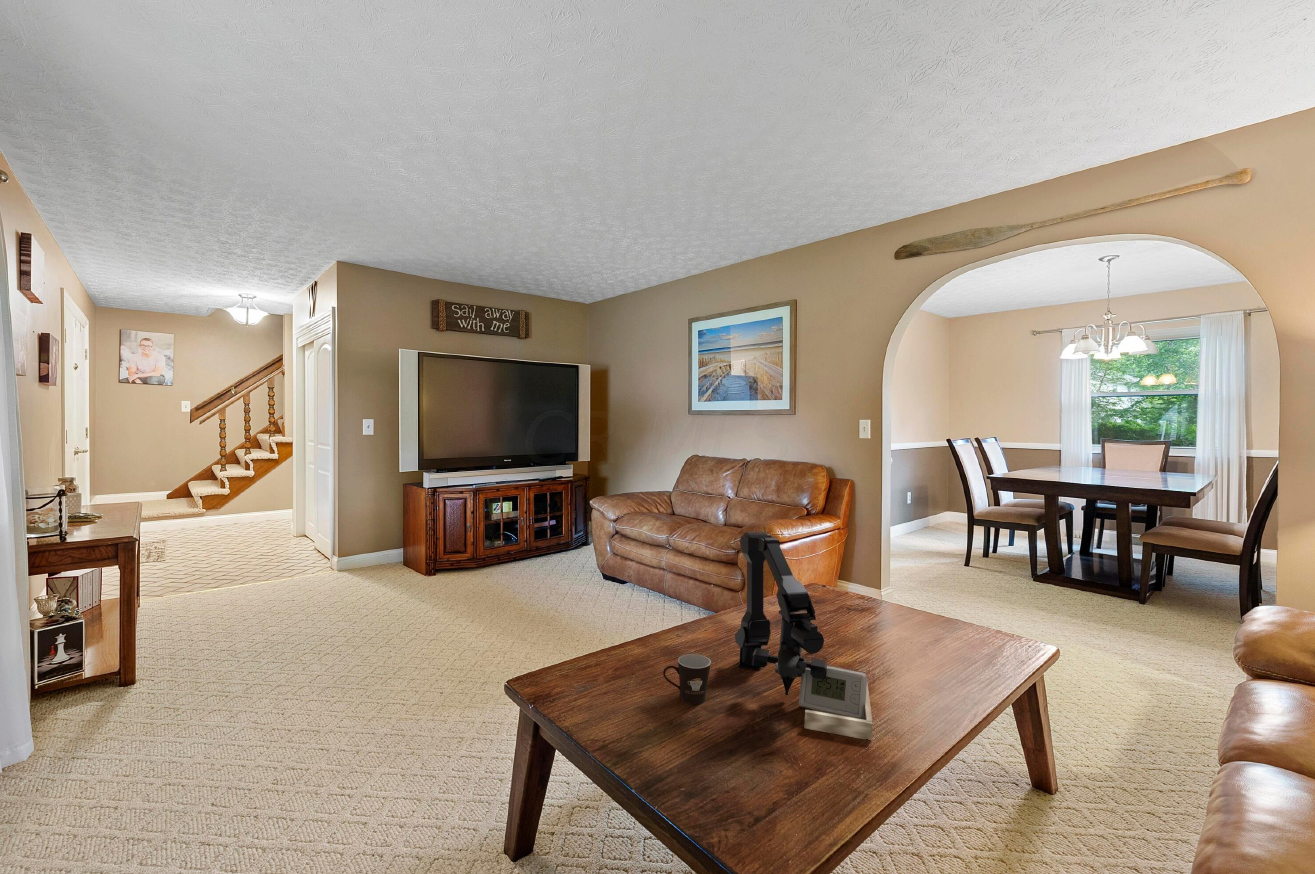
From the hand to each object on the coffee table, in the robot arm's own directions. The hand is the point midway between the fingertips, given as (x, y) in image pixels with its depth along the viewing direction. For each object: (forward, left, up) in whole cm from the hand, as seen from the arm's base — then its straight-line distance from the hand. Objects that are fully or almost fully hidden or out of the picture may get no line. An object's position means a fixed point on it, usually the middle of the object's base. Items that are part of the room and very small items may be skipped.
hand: (786, 694), depth 154 cm
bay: (+12, -1, -2) cm, 12 cm away
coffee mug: (-25, -8, -2) cm, 26 cm away
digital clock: (+11, -1, -2) cm, 12 cm away
